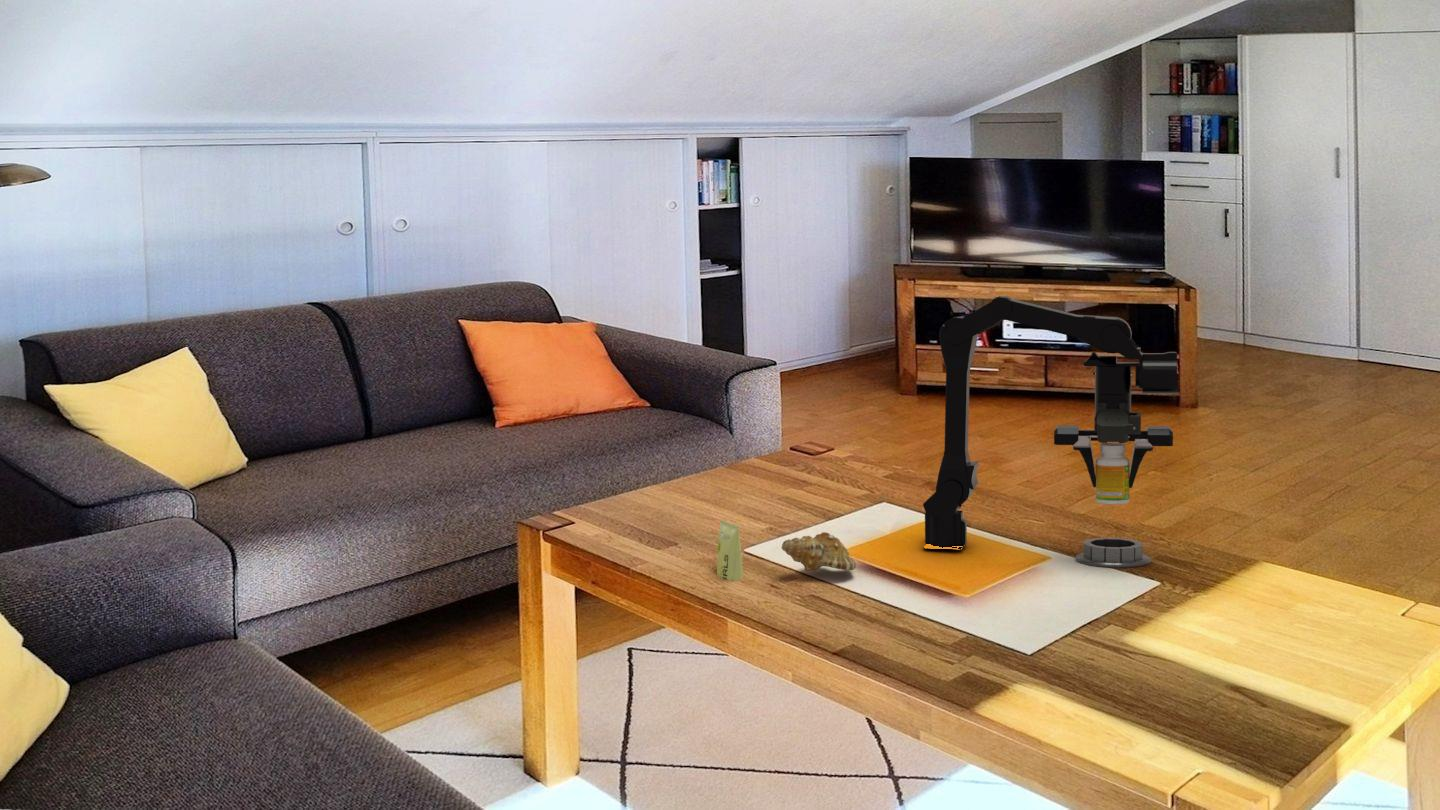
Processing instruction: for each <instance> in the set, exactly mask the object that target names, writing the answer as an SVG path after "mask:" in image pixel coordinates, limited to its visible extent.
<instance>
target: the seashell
mask: <svg viewBox="0 0 1440 810" xmlns="http://www.w3.org/2000/svg"><path fill="white" fill-rule="evenodd" d="M780 548H781V550H782V551H784V552H785V554H787V555H788V556H790V557H791V558H792V560H793V561H794V562H797V563H800V564H801V565H803V567H804V571H805V572H809V571H816V570H818V569H821V568H822V567H825V568H826V567H828V568H831V569H832V568H833V569H837V570H841V571H842V570H843V571H854V570H855V569H856V568H857V566H856V565H857V563H856V561H855V560H854V559H853V558H852V557H850V553H849V551H848V549H847V548H846V547H845V545H844V544H843V542H842V541H841V540H840V539H839V538H838V537H837V536H834V535H833V534H830V533H829V532H826V531H822V532H821V533H819V534H816V535H815V536H814V537H812V536H810V535H803V536H802V537H801V538H799V537H793V538H792V539H785V540H784V541H783V542H782V544H781V547H780Z"/></svg>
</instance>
